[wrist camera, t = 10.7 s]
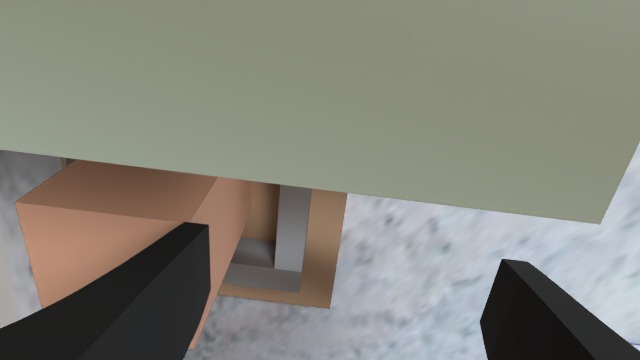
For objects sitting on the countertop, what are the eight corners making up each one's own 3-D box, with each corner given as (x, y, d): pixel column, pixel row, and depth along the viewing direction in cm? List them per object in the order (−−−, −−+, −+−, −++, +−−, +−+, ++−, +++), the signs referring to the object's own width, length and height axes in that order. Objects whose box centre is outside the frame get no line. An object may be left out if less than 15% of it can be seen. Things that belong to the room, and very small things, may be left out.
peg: (251, 210, 20) (194, 348, 12) (157, 199, 20) (47, 330, 13) (254, 120, 18) (188, 223, 10) (150, 108, 18) (14, 202, 11)
